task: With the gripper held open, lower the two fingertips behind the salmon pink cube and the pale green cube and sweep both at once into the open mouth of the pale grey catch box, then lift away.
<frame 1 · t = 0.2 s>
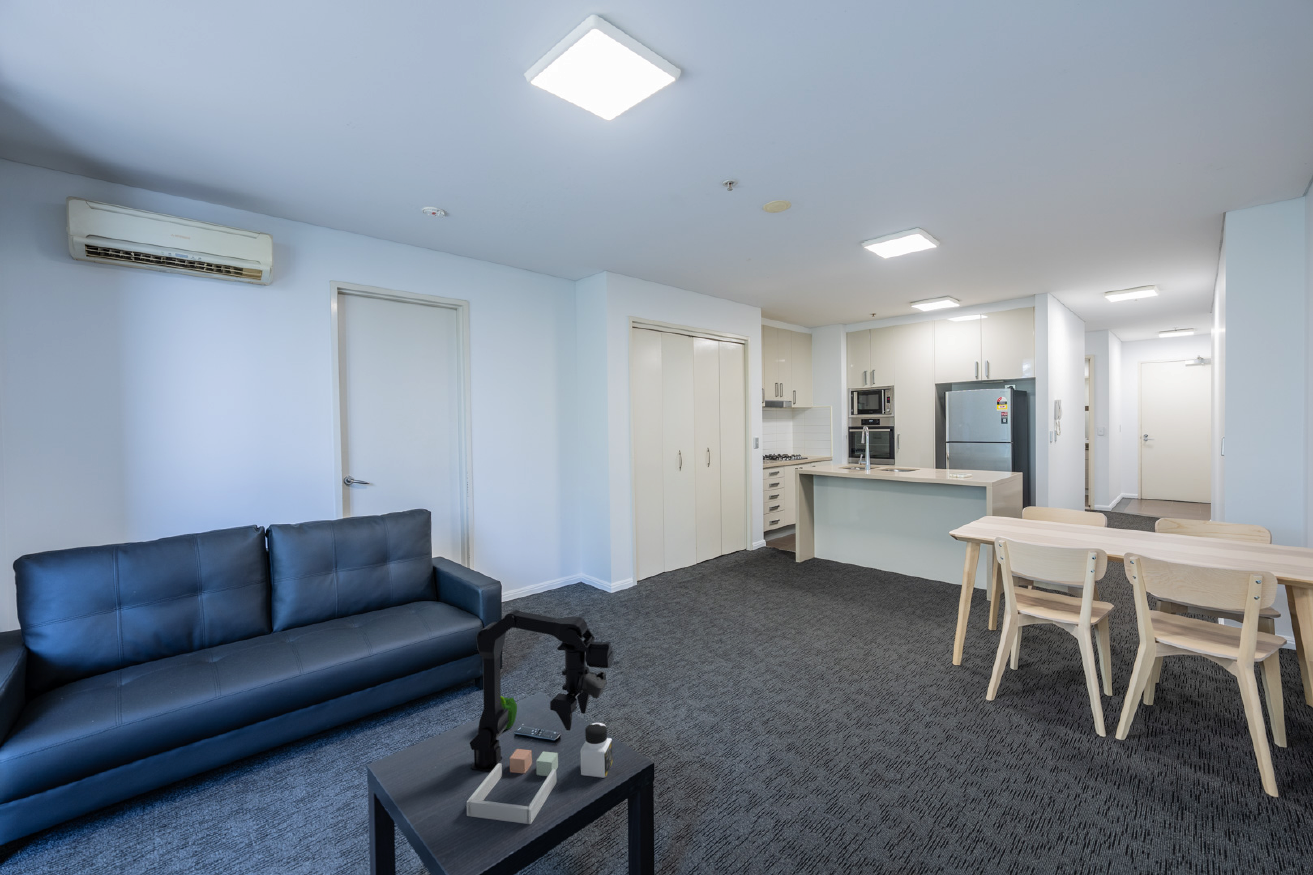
hand: (576, 721, 150), 14 cm above the table, fingers open, 9 cm apart
catch box: (513, 798, 140), on the table
bell pepper: (504, 726, 176), on the table
salmon pink cube: (521, 768, 153), on the table
pale green cube: (547, 771, 151), on the table
medicine bottle: (597, 769, 151), on the table
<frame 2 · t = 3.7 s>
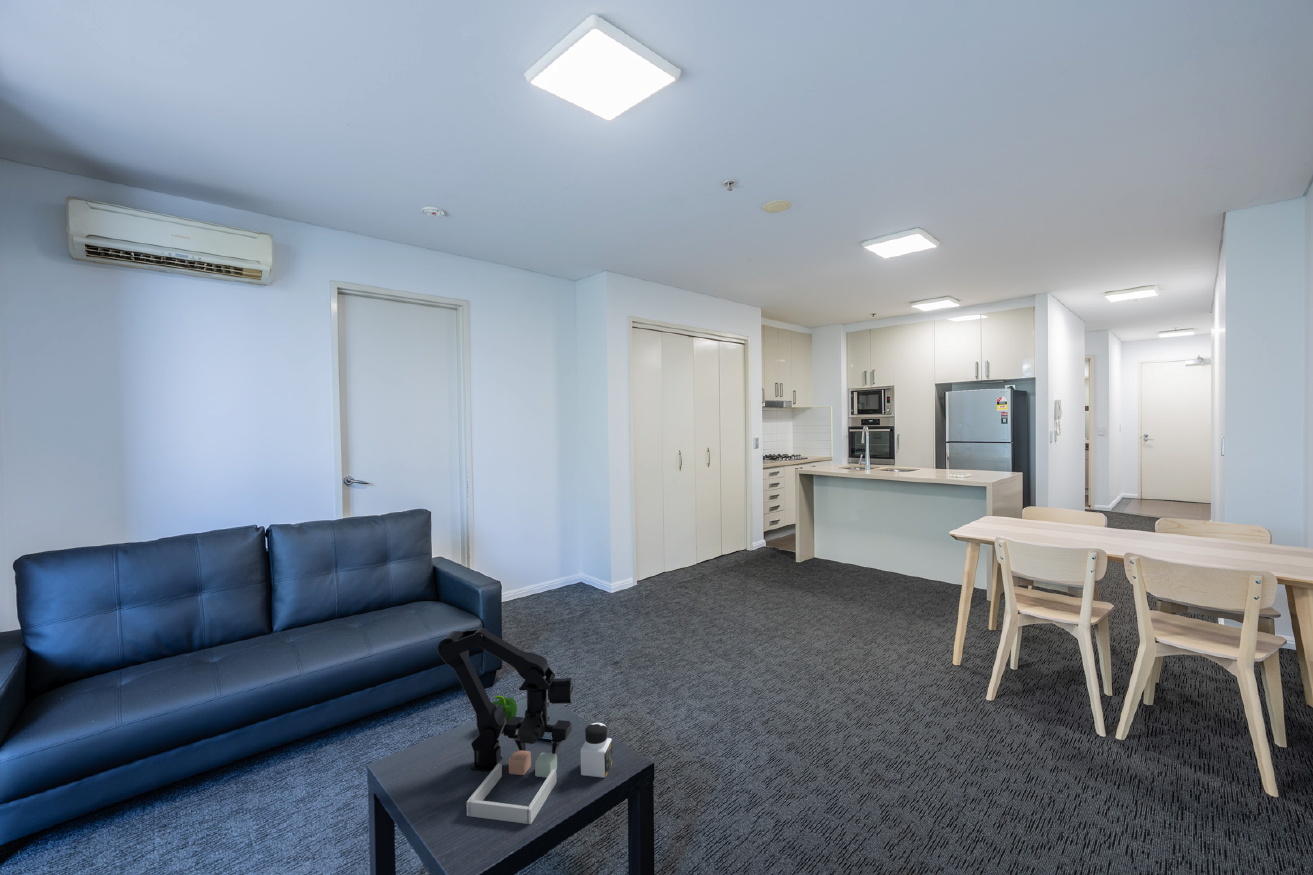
hand: (538, 757, 155), 2 cm above the table, fingers open, 9 cm apart
salmon pink cube: (520, 769, 152), on the table, touching gripper
pale green cube: (546, 771, 151), on the table, touching gripper
everything else where it was.
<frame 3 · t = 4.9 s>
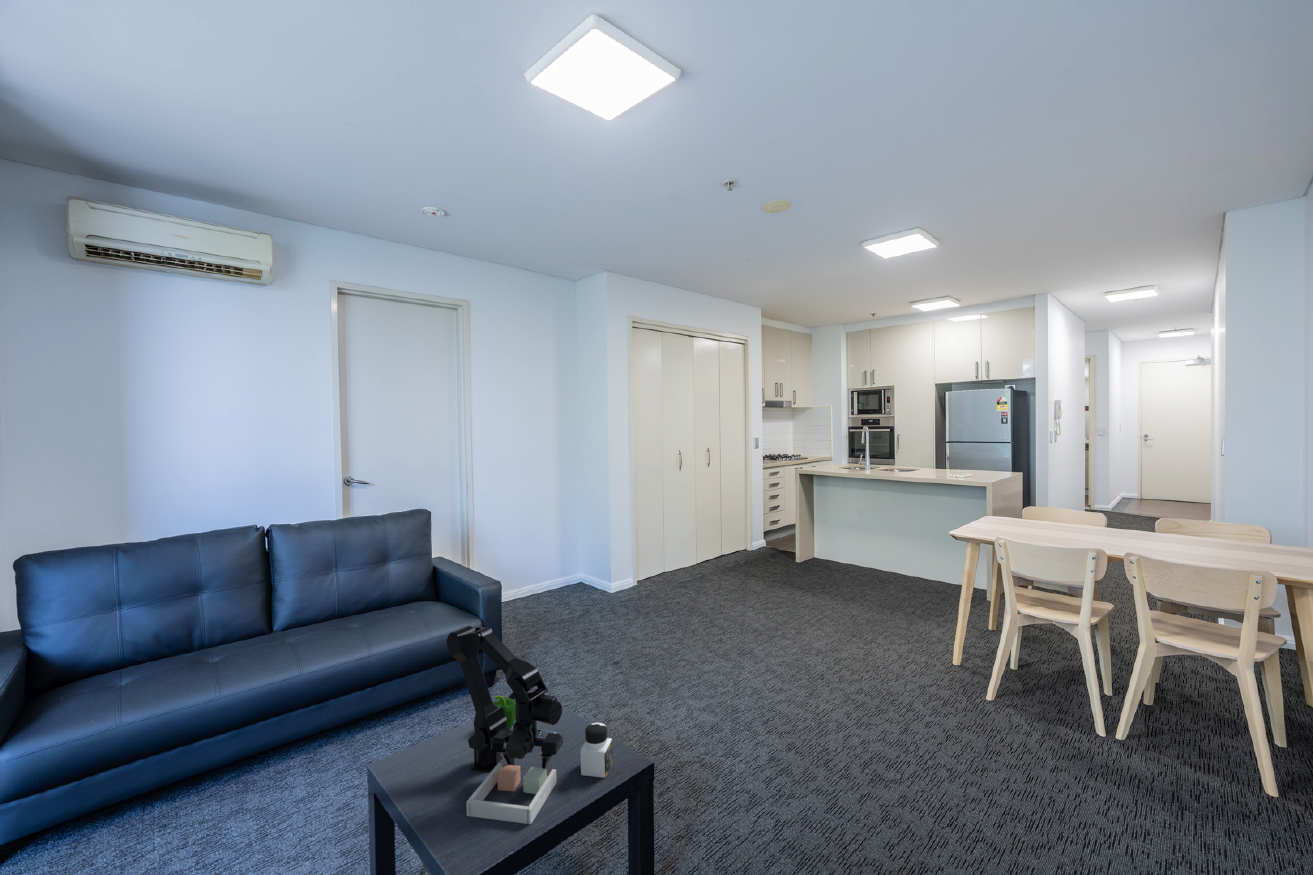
hand: (527, 772, 148), 2 cm above the table, fingers open, 9 cm apart
salmon pink cube: (509, 785, 145), on the table, touching gripper
pale green cube: (535, 787, 144), on the table, touching gripper
everything else where it was.
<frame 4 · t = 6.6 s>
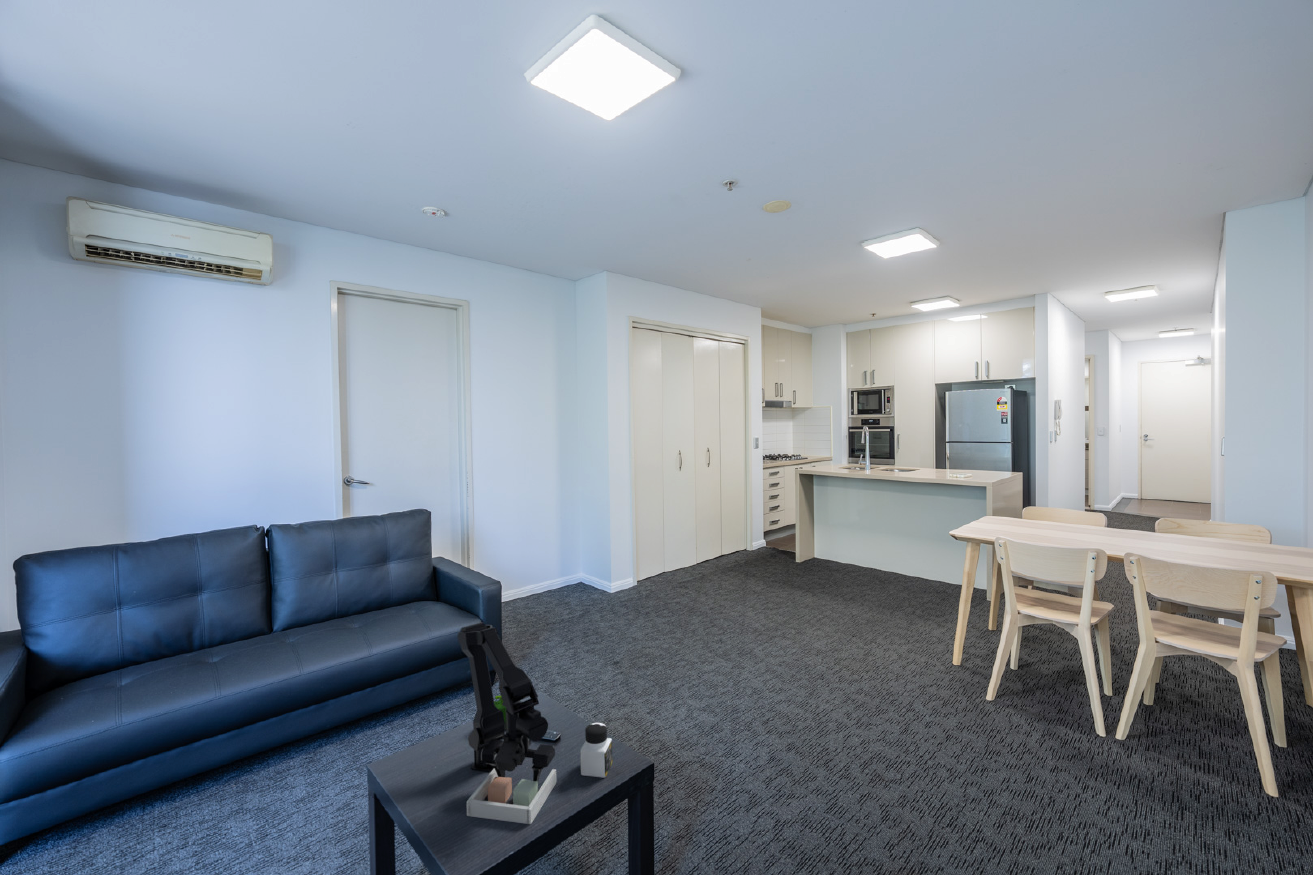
hand: (518, 784, 143), 2 cm above the table, fingers open, 9 cm apart
salmon pink cube: (500, 797, 140), on the table, touching gripper
pale green cube: (525, 801, 139), on the table, touching gripper
everything else where it was.
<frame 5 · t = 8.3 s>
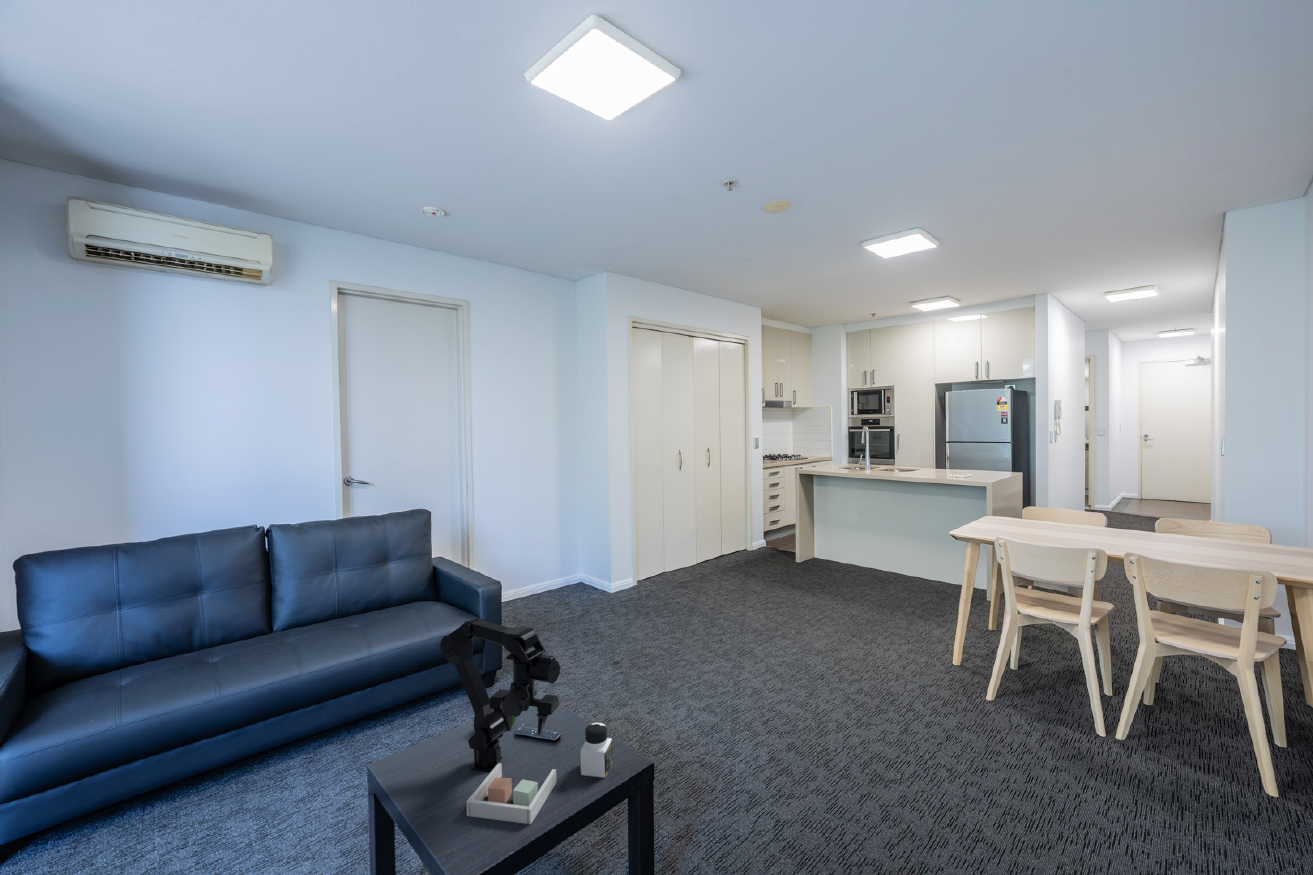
hand: (524, 732, 149), 12 cm above the table, fingers open, 9 cm apart
salmon pink cube: (500, 798, 140), on the table
pale green cube: (525, 801, 139), on the table
everything else where it was.
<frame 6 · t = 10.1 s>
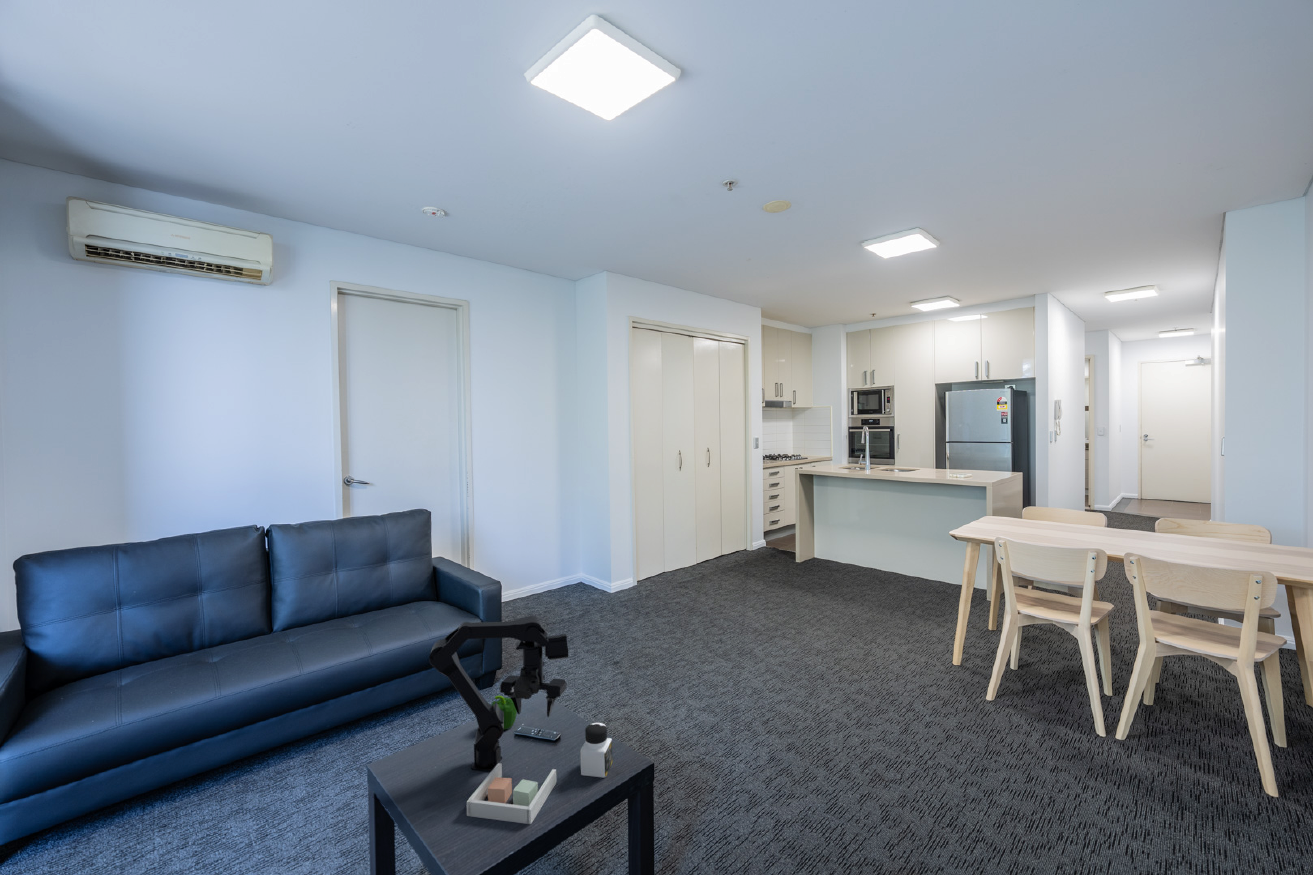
hand: (533, 714, 158), 12 cm above the table, fingers open, 9 cm apart
nothing on the table moved.
at the end: salmon pink cube inside the target area (3.5 cm from its centre), on the table; pale green cube inside the target area (3.6 cm from its centre), on the table; medicine bottle moved 0.2 cm from its start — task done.
